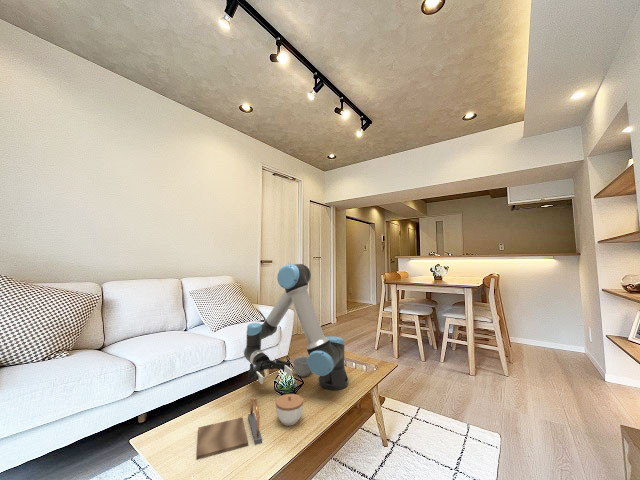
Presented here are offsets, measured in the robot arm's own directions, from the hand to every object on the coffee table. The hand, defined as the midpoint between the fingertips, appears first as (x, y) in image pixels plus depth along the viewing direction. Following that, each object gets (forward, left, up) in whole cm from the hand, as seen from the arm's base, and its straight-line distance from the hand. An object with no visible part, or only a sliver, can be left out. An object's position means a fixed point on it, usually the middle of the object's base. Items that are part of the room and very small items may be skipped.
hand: (277, 376), depth 114 cm
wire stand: (+11, +10, -13) cm, 20 cm away
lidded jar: (-2, +10, -14) cm, 17 cm away
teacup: (-22, -30, -14) cm, 40 cm away
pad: (+23, +10, -13) cm, 28 cm away
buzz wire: (+11, +10, -12) cm, 19 cm away
